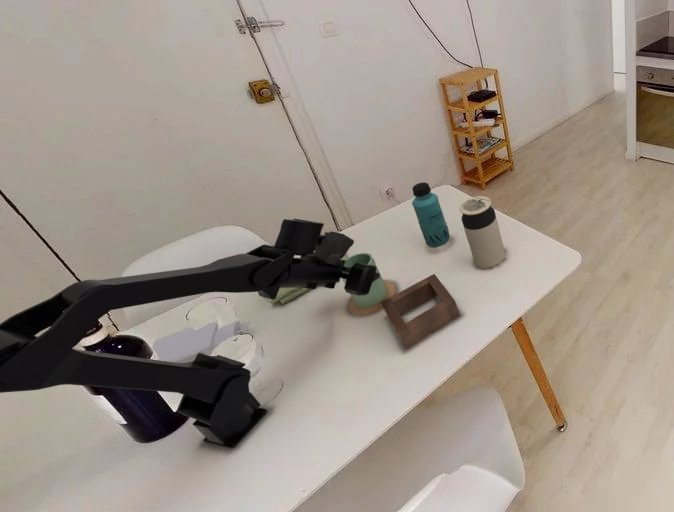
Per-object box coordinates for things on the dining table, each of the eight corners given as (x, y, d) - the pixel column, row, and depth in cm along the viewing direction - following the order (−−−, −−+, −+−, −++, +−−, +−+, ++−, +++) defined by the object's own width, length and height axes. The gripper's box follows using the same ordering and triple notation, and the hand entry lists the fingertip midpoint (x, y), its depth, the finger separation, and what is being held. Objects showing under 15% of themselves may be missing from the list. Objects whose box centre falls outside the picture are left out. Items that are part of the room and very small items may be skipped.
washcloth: (262, 283, 104) (256, 274, 103) (340, 246, 116) (335, 237, 114) (275, 310, 97) (268, 301, 95) (356, 267, 108) (352, 258, 107)
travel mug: (488, 273, 105) (472, 218, 97) (468, 261, 109) (451, 208, 100) (511, 254, 111) (498, 200, 102) (491, 244, 115) (477, 191, 106)
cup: (384, 303, 97) (368, 269, 92) (352, 311, 95) (334, 277, 90) (390, 282, 103) (375, 249, 97) (359, 290, 101) (342, 257, 96)
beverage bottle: (422, 249, 114) (399, 191, 104) (438, 234, 119) (419, 177, 109) (441, 254, 112) (420, 194, 102) (457, 238, 117) (439, 180, 108)
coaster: (376, 317, 94) (375, 316, 94) (338, 312, 96) (338, 310, 96) (404, 284, 103) (404, 283, 102) (370, 280, 104) (369, 278, 104)
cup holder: (405, 350, 87) (398, 334, 84) (387, 317, 94) (380, 302, 92) (460, 315, 94) (455, 301, 92) (439, 287, 101) (434, 273, 99)
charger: (251, 348, 88) (155, 386, 81) (257, 318, 95) (169, 351, 88) (240, 333, 86) (140, 372, 79) (247, 304, 93) (156, 337, 86)
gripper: (352, 240, 82) (409, 245, 97) (283, 225, 87) (348, 232, 101) (332, 297, 79) (394, 294, 94) (262, 279, 84) (332, 278, 99)
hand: (367, 272), depth 97 cm, fingers closed on cup, 7 cm apart
